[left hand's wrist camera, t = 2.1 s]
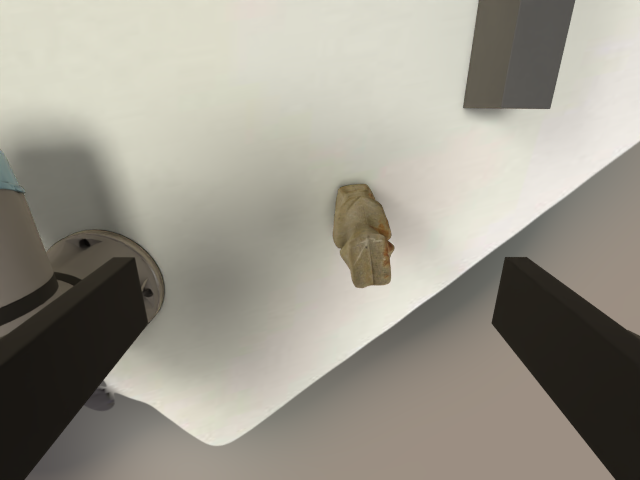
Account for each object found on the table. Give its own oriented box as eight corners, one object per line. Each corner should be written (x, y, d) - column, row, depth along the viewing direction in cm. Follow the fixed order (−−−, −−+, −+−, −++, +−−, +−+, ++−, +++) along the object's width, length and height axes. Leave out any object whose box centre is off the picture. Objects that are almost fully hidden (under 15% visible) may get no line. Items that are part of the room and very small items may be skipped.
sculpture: (332, 237, 45) (337, 296, 31) (328, 181, 42) (332, 218, 28) (377, 234, 45) (403, 292, 31) (377, 178, 42) (404, 213, 28)
